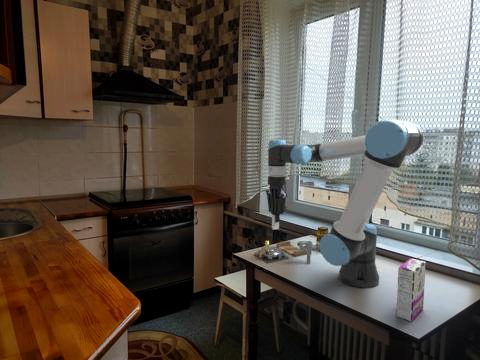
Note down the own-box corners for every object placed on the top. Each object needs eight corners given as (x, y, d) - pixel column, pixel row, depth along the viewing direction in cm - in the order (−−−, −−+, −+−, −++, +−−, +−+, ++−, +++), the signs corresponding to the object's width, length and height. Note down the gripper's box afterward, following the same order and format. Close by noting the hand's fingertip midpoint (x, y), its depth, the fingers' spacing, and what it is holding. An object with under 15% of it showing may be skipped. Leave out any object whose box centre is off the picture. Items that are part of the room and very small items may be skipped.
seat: (308, 254, 160) (308, 249, 159) (295, 257, 156) (295, 252, 156) (288, 245, 173) (289, 241, 173) (276, 247, 169) (276, 243, 169)
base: (289, 258, 154) (289, 256, 154) (267, 263, 148) (267, 261, 148) (274, 251, 164) (274, 249, 164) (253, 255, 158) (253, 253, 158)
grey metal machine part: (290, 256, 153) (290, 240, 152) (267, 261, 147) (267, 244, 146) (274, 248, 165) (274, 233, 164) (252, 252, 158) (252, 236, 157)
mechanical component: (320, 264, 146) (321, 243, 145) (297, 264, 146) (298, 242, 145) (319, 262, 149) (319, 241, 148) (296, 262, 149) (297, 240, 148)
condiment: (314, 248, 168) (315, 226, 167) (330, 249, 168) (331, 226, 166) (317, 253, 161) (317, 229, 159) (334, 253, 160) (335, 230, 159)
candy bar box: (407, 304, 111) (410, 257, 109) (423, 309, 108) (427, 261, 106) (394, 316, 103) (397, 266, 101) (411, 322, 100) (415, 271, 98)
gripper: (261, 174, 145) (260, 226, 148) (278, 177, 134) (277, 233, 137) (274, 173, 149) (273, 224, 152) (292, 176, 138) (291, 231, 141)
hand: (275, 228), depth 144 cm, fingers closed
